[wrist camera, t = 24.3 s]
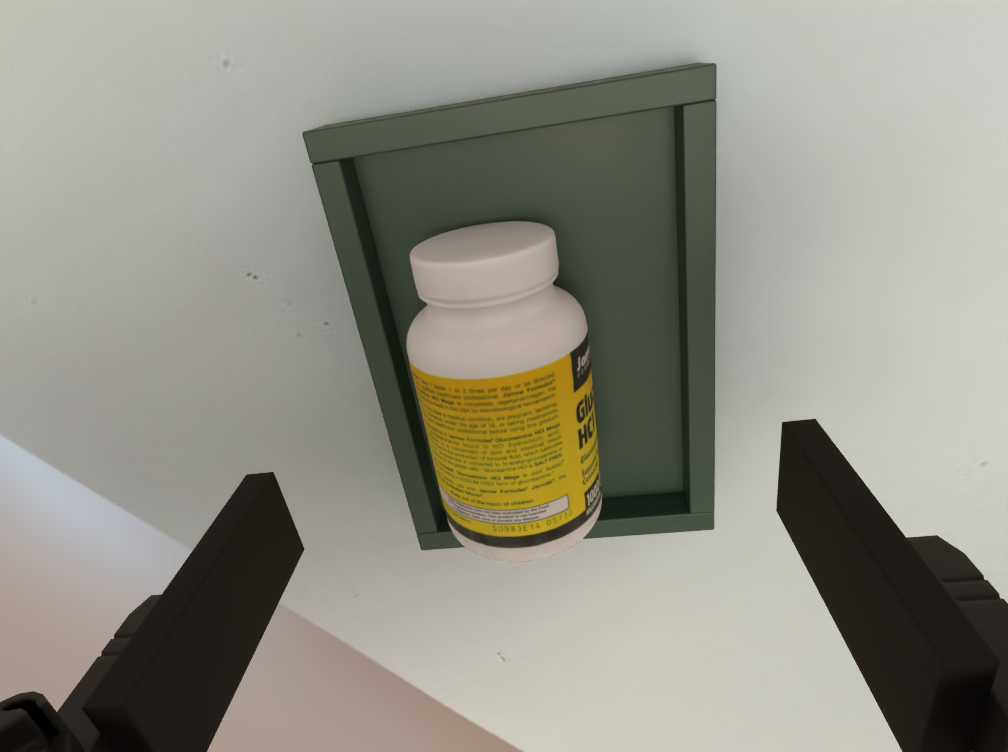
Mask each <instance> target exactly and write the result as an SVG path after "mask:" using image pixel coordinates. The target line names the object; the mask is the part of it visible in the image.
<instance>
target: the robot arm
mask: <svg viewBox="0 0 1008 752" xmlns="http://www.w3.org/2000/svg"><path fill="white" fill-rule="evenodd" d="M776 511H777V512H778V514H779V516H780V518H781V520H782V522H783V524H784V526H785V528H786V530H787V532H788V533H789V535H790V537H791V539H792V541H793V543H794V545H795V547H796V549H797V551H798V553H799V555H800V556H801V558H802V560H803V562H804V564H805V566H806V568H807V570H808V572H809V574H810V576H811V577H812V579H813V581H814V583H815V585H816V587H817V589H818V591H819V593H820V595H821V597H822V599H823V600H824V602H825V604H826V606H827V608H828V610H829V612H830V614H831V616H832V618H833V620H834V621H835V623H836V625H837V627H838V629H839V631H840V633H841V635H842V637H843V639H844V641H845V643H846V644H847V646H848V648H849V650H850V652H851V654H852V656H853V658H854V660H855V662H856V664H857V665H858V667H859V669H860V671H861V673H862V675H863V677H864V679H865V681H866V683H867V685H868V686H869V688H870V690H871V692H872V694H873V696H874V698H875V700H876V702H877V704H878V706H879V708H880V709H881V711H882V713H883V715H884V717H885V719H886V721H887V723H888V725H889V727H890V729H891V730H892V732H893V734H894V736H895V738H896V740H897V742H898V744H899V746H900V748H901V750H902V752H1008V604H1007V603H1006V601H1005V600H1004V599H1001V598H1000V596H999V593H998V592H997V591H996V590H995V589H994V587H993V586H992V585H991V584H990V583H989V582H988V580H984V576H983V575H982V573H981V572H980V571H979V570H978V569H977V568H976V566H975V565H974V564H973V563H972V562H971V561H970V559H969V558H968V557H967V556H966V555H965V554H964V553H963V552H961V551H960V550H958V549H957V548H955V547H954V546H952V545H951V544H949V543H948V542H946V541H945V540H943V539H942V538H940V537H939V536H937V535H936V536H923V537H909V538H906V537H905V536H904V534H903V533H902V532H901V530H900V529H899V528H898V527H897V525H896V524H895V523H894V521H893V520H892V519H891V517H890V516H889V515H888V513H887V512H886V511H885V510H884V508H883V507H882V506H881V504H880V503H879V502H878V500H877V499H876V498H875V496H874V495H873V494H872V493H871V491H870V490H869V489H868V487H867V486H866V485H865V483H864V482H863V481H862V479H861V478H860V477H859V475H858V474H857V473H856V472H855V470H854V469H853V468H852V466H851V465H850V464H849V462H848V461H847V460H846V458H845V457H844V456H843V455H842V453H841V452H840V451H839V449H838V448H837V447H836V445H835V444H834V443H833V441H832V440H831V439H830V438H829V436H828V435H827V434H826V432H825V431H824V430H823V428H822V427H821V426H820V424H819V423H818V422H817V420H816V419H809V420H799V421H789V422H782V434H781V449H780V464H779V479H778V495H777V510H776ZM303 551H304V547H303V544H302V542H301V539H300V537H299V534H298V532H297V529H296V527H295V524H294V522H293V520H292V517H291V515H290V512H289V510H288V507H287V505H286V502H285V500H284V497H283V495H282V492H281V490H280V487H279V485H278V482H277V480H276V477H275V475H274V472H269V473H258V474H248V475H246V476H245V478H244V479H243V481H242V482H241V483H240V485H239V486H238V488H237V489H236V490H235V492H234V493H233V495H232V496H231V497H230V499H229V500H228V502H227V503H226V505H225V506H224V507H223V509H222V510H221V512H220V513H219V514H218V516H217V517H216V519H215V520H214V522H213V523H212V524H211V526H210V527H209V529H208V530H207V531H206V533H205V534H204V536H203V537H202V539H201V540H200V541H199V543H198V544H197V546H196V547H195V548H194V550H193V551H192V553H191V554H190V556H189V557H188V558H187V560H186V561H185V563H184V564H183V565H182V567H181V568H180V570H179V571H178V572H177V574H176V575H175V577H174V578H173V580H172V581H171V582H170V584H169V585H168V587H167V588H166V590H165V591H164V592H163V594H162V595H152V596H150V597H149V598H148V599H147V600H145V601H144V602H143V603H142V604H141V605H140V606H139V607H137V608H136V609H135V610H134V611H133V612H132V613H130V614H129V616H128V617H127V618H126V620H125V621H124V622H123V624H122V625H121V626H120V628H119V629H118V631H117V632H116V633H115V635H114V639H111V640H110V641H109V643H108V644H107V645H106V647H105V648H104V649H103V651H102V655H101V656H100V657H98V658H97V659H96V660H95V662H94V663H93V664H92V666H91V667H90V669H89V670H88V671H87V672H86V674H85V675H84V677H83V678H82V679H81V681H80V682H79V683H78V685H77V686H76V687H75V689H74V690H73V691H72V693H71V694H70V695H69V697H68V698H67V699H66V701H65V702H64V704H63V705H62V706H61V708H60V709H59V710H58V712H56V711H55V710H54V708H53V707H52V705H51V704H50V703H49V702H48V700H47V699H46V698H45V696H44V695H43V694H40V693H37V692H34V691H33V692H27V693H21V694H18V695H15V696H13V697H11V698H8V699H6V700H4V701H2V702H0V752H207V750H208V748H209V746H210V744H211V742H212V740H213V738H214V736H215V733H216V731H217V729H218V727H219V725H220V723H221V721H222V718H223V717H224V715H225V713H226V711H227V708H228V706H229V704H230V702H231V700H232V698H233V696H234V694H235V692H236V690H237V688H238V686H239V684H240V682H241V680H242V677H243V675H244V673H245V671H246V669H247V667H248V665H249V663H250V661H251V659H252V657H253V655H254V652H255V650H256V648H257V646H258V644H259V642H260V640H261V638H262V636H263V634H264V632H265V630H266V628H267V626H268V623H269V621H270V619H271V617H272V615H273V613H274V611H275V609H276V607H277V605H278V603H279V601H280V599H281V596H282V594H283V592H284V590H285V588H286V586H287V584H288V582H289V580H290V578H291V576H292V574H293V572H294V570H295V567H296V565H297V563H298V561H299V559H300V557H301V555H302V553H303Z"/></svg>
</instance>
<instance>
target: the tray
mask: <svg viewBox="0 0 1008 752" xmlns="http://www.w3.org/2000/svg"><path fill="white" fill-rule="evenodd" d="M715 99H716V64H714V63H695V64H689V65H683V66H677V67H671V68H665V69H659V70H653V71H647V72H642V73H636V74H630V75H624V76H618V77H612V78H606V79H600V80H594V81H588V82H582V83H576V84H570V85H564V86H558V87H552V88H546V89H540V90H534V91H528V92H522V93H516V94H510V95H504V96H498V97H492V98H486V99H480V100H474V101H468V102H462V103H456V104H450V105H445V106H439V107H433V108H427V109H421V110H415V111H409V112H403V113H397V114H391V115H385V116H379V117H373V118H367V119H361V120H355V121H349V122H343V123H337V124H331V125H325V126H322V127H319V128H315V129H312V130H308V131H305V132H303V138H304V141H305V145H306V148H307V152H308V155H309V159H310V162H311V163H312V164H313V165H312V169H313V172H314V176H315V179H316V183H317V186H318V190H319V193H320V197H321V200H322V204H323V207H324V211H325V214H326V218H327V221H328V225H329V228H330V232H331V235H332V239H333V242H334V246H335V249H336V253H337V256H338V260H339V263H340V267H341V270H342V274H343V277H344V281H345V284H346V288H347V291H348V295H349V298H350V302H351V305H352V309H353V312H354V316H355V319H356V323H357V326H358V330H359V333H360V337H361V340H362V344H363V347H364V351H365V354H366V358H367V361H368V365H369V368H370V372H371V375H372V379H373V382H374V386H375V389H376V393H377V396H378V400H379V403H380V407H381V410H382V414H383V417H384V421H385V424H386V428H387V431H388V435H389V438H390V442H391V445H392V449H393V452H394V456H395V459H396V463H397V466H398V470H399V473H400V477H401V480H402V484H403V487H404V491H405V494H406V498H407V501H408V505H409V508H410V512H411V515H412V519H413V522H414V526H415V529H416V533H417V537H418V540H419V544H420V547H421V550H432V549H446V548H460V547H465V546H463V545H462V544H461V543H460V542H459V541H458V539H457V538H456V537H455V535H454V534H453V532H452V530H451V528H450V526H449V523H448V520H447V516H446V513H445V510H444V505H443V501H442V497H441V492H440V488H439V484H438V480H437V475H436V471H435V467H434V463H433V458H432V454H431V450H430V445H429V441H428V437H427V432H426V428H425V424H424V420H423V416H422V412H421V408H420V404H419V400H418V396H417V392H416V388H415V384H414V380H413V376H412V371H411V367H410V362H409V357H408V353H407V344H406V342H407V335H408V331H409V328H410V326H411V324H412V322H413V320H414V319H415V317H416V316H417V315H418V314H419V312H420V311H421V310H422V309H424V308H425V307H426V306H427V303H426V302H424V301H423V300H421V299H420V298H419V296H418V290H417V289H416V285H415V281H414V277H413V272H412V267H411V262H410V253H411V251H412V249H413V248H414V247H415V246H417V245H418V244H420V243H421V242H423V241H425V240H427V239H429V238H432V237H434V236H437V235H439V234H442V233H446V232H449V231H452V230H456V229H460V228H464V227H469V226H474V225H480V224H487V223H496V222H510V221H525V222H534V223H540V224H543V225H546V226H549V227H550V228H552V229H553V231H554V233H555V237H556V246H557V254H558V260H559V268H558V276H557V278H556V279H555V280H554V281H553V285H554V286H557V287H559V288H561V289H563V290H565V291H566V292H568V293H569V294H571V295H572V296H573V297H574V298H575V299H576V300H577V301H578V303H579V304H580V306H581V307H582V309H583V311H584V314H585V317H586V323H587V327H588V340H589V349H590V358H591V372H592V382H593V395H594V408H595V418H596V430H597V441H598V453H599V463H600V472H601V487H602V504H601V510H600V513H599V516H598V518H597V520H596V522H595V524H594V526H593V527H592V528H591V530H590V531H589V532H588V533H587V535H586V536H585V537H584V538H583V539H587V538H601V537H615V536H629V535H643V534H658V533H672V532H686V531H700V530H713V529H714V470H715V265H716V100H715Z"/></svg>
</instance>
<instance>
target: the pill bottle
mask: <svg viewBox="0 0 1008 752" xmlns="http://www.w3.org/2000/svg"><path fill="white" fill-rule="evenodd" d="M410 262H411V267H412V272H413V277H414V281H415V285H416V289H417V290H418V296H419V298H420V299H421V300H423V301H424V302H426V303H427V306H426V307H425V308H424V309H422V310H421V311H420V312H419V314H418V315H417V316H416V317H415V319H414V320H413V322H412V324H411V326H410V328H409V331H408V335H407V342H406V344H407V353H408V357H409V362H410V367H411V371H412V376H413V380H414V384H415V388H416V392H417V396H418V400H419V404H420V408H421V412H422V416H423V420H424V424H425V428H426V432H427V437H428V441H429V445H430V450H431V454H432V458H433V463H434V467H435V471H436V475H437V480H438V484H439V488H440V492H441V497H442V501H443V505H444V510H445V513H446V516H447V520H448V523H449V526H450V528H451V530H452V532H453V534H454V535H455V537H456V538H457V539H458V541H459V542H460V543H461V544H462V545H463V546H465V547H466V548H467V549H469V550H471V551H472V552H474V553H476V554H479V555H481V556H484V557H487V558H491V559H495V560H501V561H515V562H516V561H530V560H536V559H541V558H545V557H549V556H552V555H555V554H558V553H560V552H562V551H564V550H566V549H568V548H570V547H572V546H573V545H575V544H576V543H578V542H579V541H580V540H581V539H583V538H584V537H585V536H586V535H587V533H588V532H589V531H590V530H591V528H592V527H593V526H594V524H595V522H596V520H597V518H598V516H599V513H600V510H601V504H602V487H601V472H600V463H599V453H598V441H597V430H596V418H595V408H594V395H593V382H592V372H591V358H590V349H589V340H588V327H587V323H586V317H585V314H584V311H583V309H582V307H581V306H580V304H579V303H578V301H577V300H576V299H575V298H574V297H573V296H572V295H571V294H569V293H568V292H566V291H565V290H563V289H561V288H559V287H557V286H554V285H553V281H554V280H555V279H556V278H557V276H558V268H559V260H558V254H557V246H556V237H555V233H554V231H553V229H552V228H550V227H549V226H546V225H543V224H540V223H534V222H525V221H510V222H496V223H487V224H480V225H474V226H469V227H464V228H460V229H456V230H452V231H449V232H446V233H442V234H439V235H437V236H434V237H432V238H429V239H427V240H425V241H423V242H421V243H420V244H418V245H417V246H415V247H414V248H413V249H412V251H411V253H410Z"/></svg>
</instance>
